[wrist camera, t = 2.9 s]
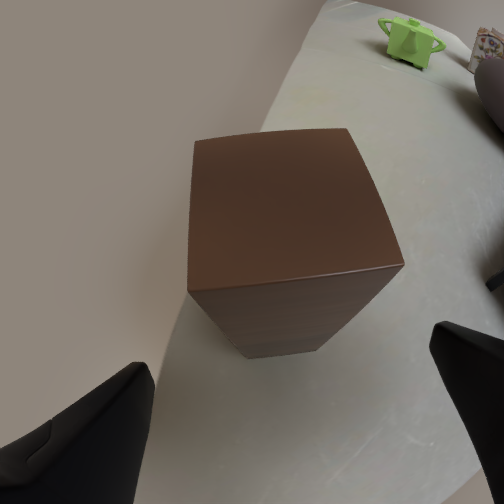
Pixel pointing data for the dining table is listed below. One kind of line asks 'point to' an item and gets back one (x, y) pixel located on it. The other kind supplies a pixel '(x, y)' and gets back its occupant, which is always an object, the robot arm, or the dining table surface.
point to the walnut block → (286, 238)
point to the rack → (495, 280)
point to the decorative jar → (486, 47)
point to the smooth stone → (491, 88)
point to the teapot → (410, 41)
